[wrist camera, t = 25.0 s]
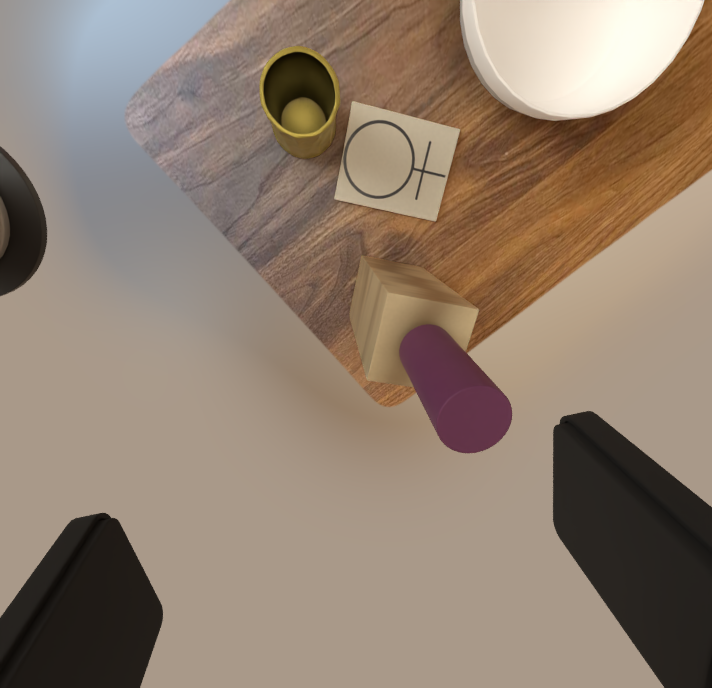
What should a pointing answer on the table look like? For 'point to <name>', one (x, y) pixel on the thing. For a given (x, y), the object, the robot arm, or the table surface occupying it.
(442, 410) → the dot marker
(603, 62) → the bowl
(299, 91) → the vase
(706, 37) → the table surface
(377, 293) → the stand
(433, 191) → the sketch card
